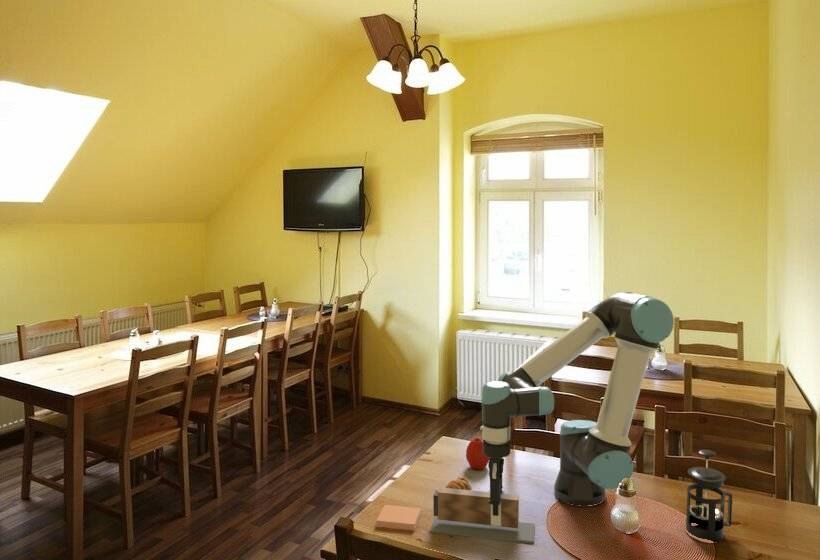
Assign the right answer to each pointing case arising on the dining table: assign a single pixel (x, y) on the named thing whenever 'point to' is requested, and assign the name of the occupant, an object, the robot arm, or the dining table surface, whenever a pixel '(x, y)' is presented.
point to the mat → (485, 530)
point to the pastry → (459, 484)
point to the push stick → (474, 507)
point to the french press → (707, 502)
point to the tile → (399, 517)
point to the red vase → (476, 455)
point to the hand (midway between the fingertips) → (496, 521)
